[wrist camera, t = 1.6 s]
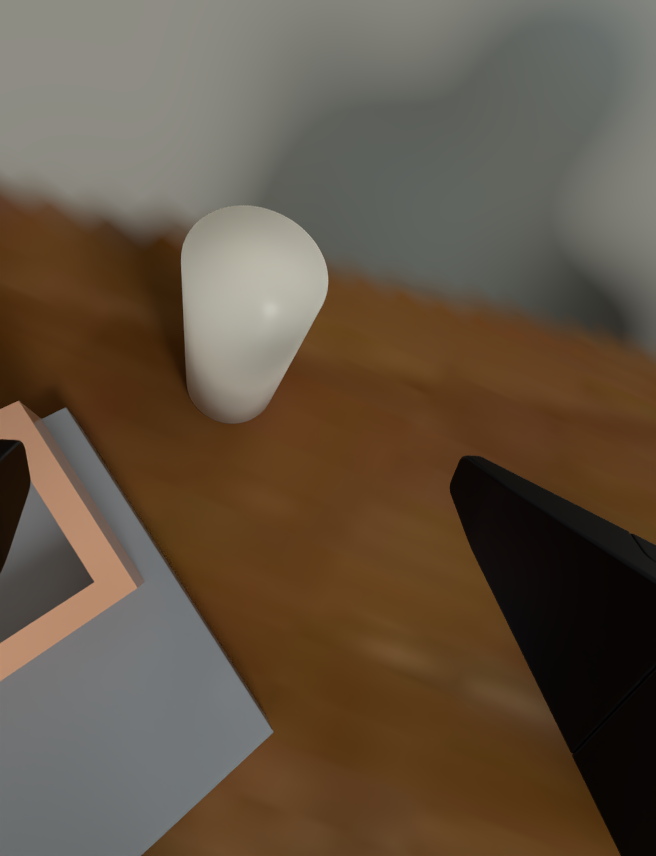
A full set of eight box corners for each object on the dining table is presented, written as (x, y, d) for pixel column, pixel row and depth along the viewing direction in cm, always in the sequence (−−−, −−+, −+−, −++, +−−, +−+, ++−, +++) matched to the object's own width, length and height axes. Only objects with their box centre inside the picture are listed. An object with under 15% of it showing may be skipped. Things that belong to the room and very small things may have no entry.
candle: (289, 397, 23) (354, 299, 14) (217, 439, 21) (235, 360, 12) (244, 330, 23) (278, 188, 14) (169, 366, 21) (150, 232, 12)
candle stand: (267, 717, 19) (285, 761, 15) (30, 933, 15) (-23, 1061, 11) (75, 416, 20) (47, 387, 16) (-197, 550, 16) (-318, 553, 12)
